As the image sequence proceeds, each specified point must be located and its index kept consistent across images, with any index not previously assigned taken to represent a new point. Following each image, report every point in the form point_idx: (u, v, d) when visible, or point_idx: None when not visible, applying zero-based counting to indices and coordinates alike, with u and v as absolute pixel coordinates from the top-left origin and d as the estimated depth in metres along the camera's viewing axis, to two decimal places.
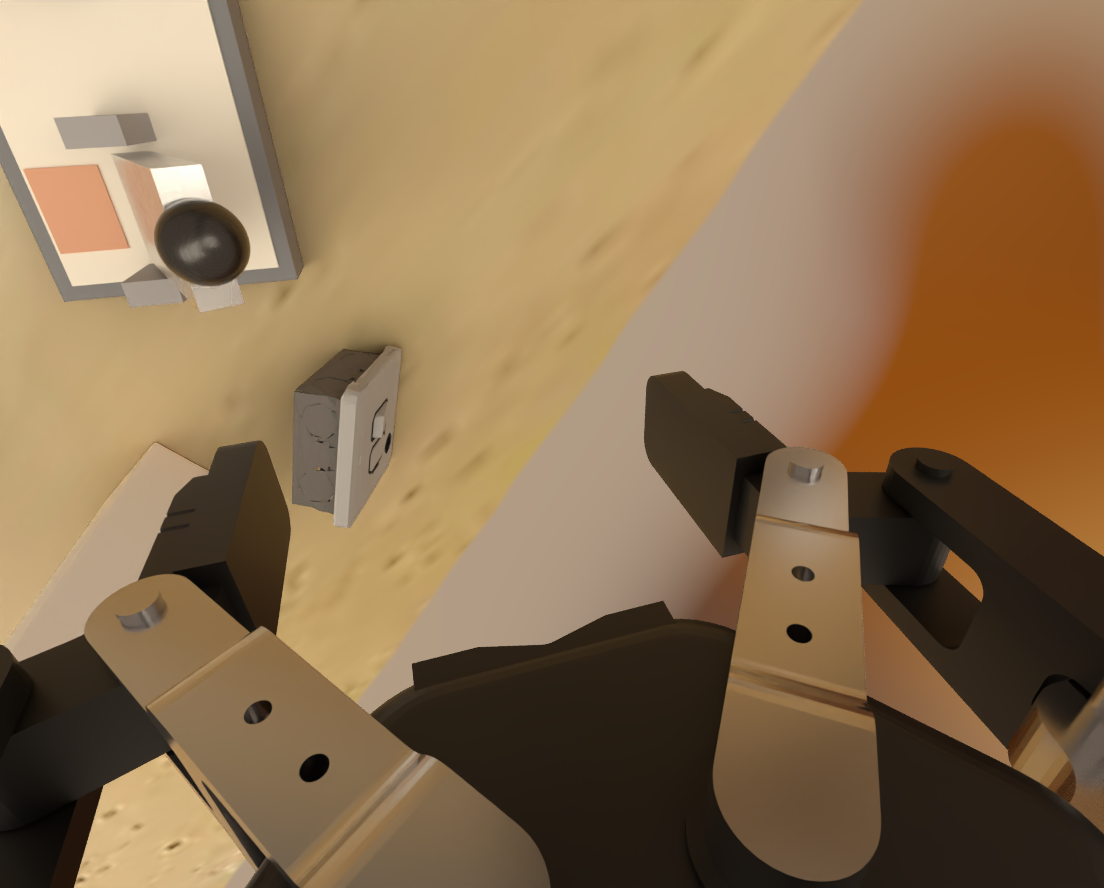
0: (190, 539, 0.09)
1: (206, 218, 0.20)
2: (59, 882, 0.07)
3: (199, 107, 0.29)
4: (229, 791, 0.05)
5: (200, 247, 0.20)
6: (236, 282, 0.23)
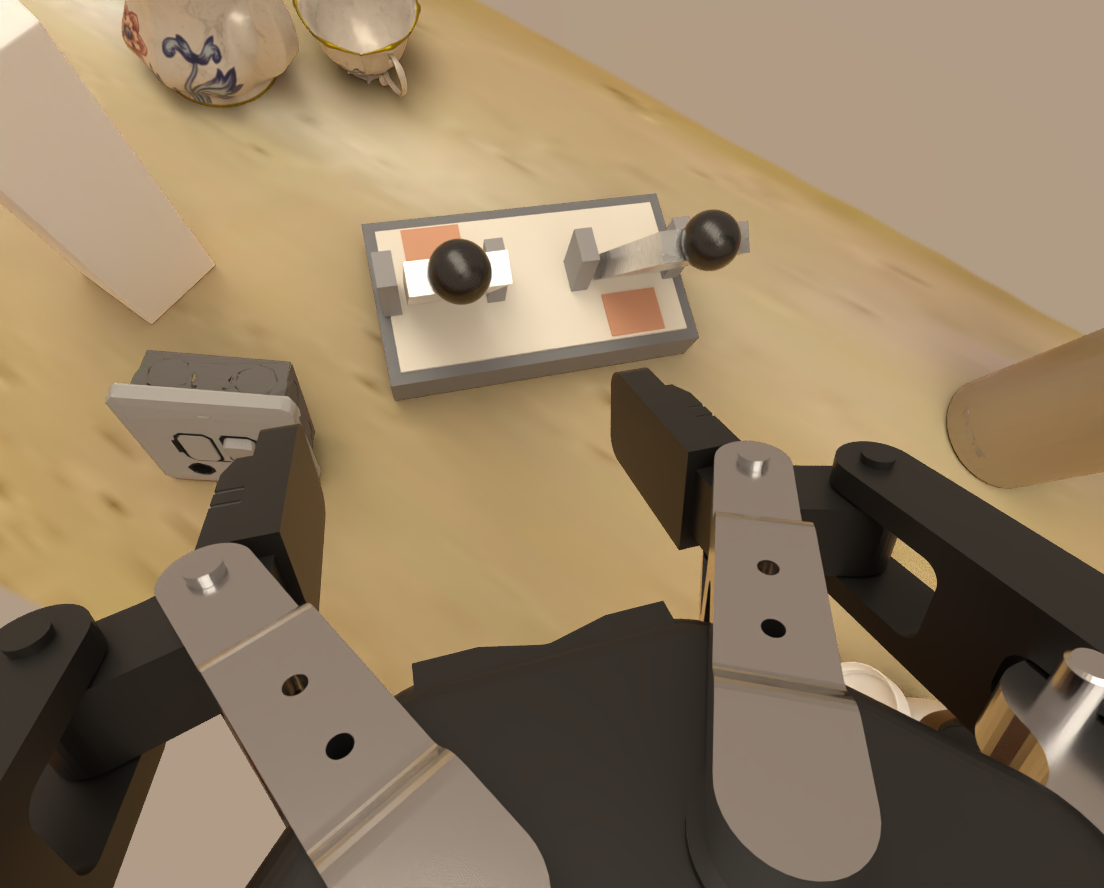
0: (243, 512, 0.09)
1: (484, 270, 0.27)
2: (115, 835, 0.07)
3: (513, 331, 0.41)
4: (260, 758, 0.05)
5: (464, 260, 0.27)
6: (427, 293, 0.28)
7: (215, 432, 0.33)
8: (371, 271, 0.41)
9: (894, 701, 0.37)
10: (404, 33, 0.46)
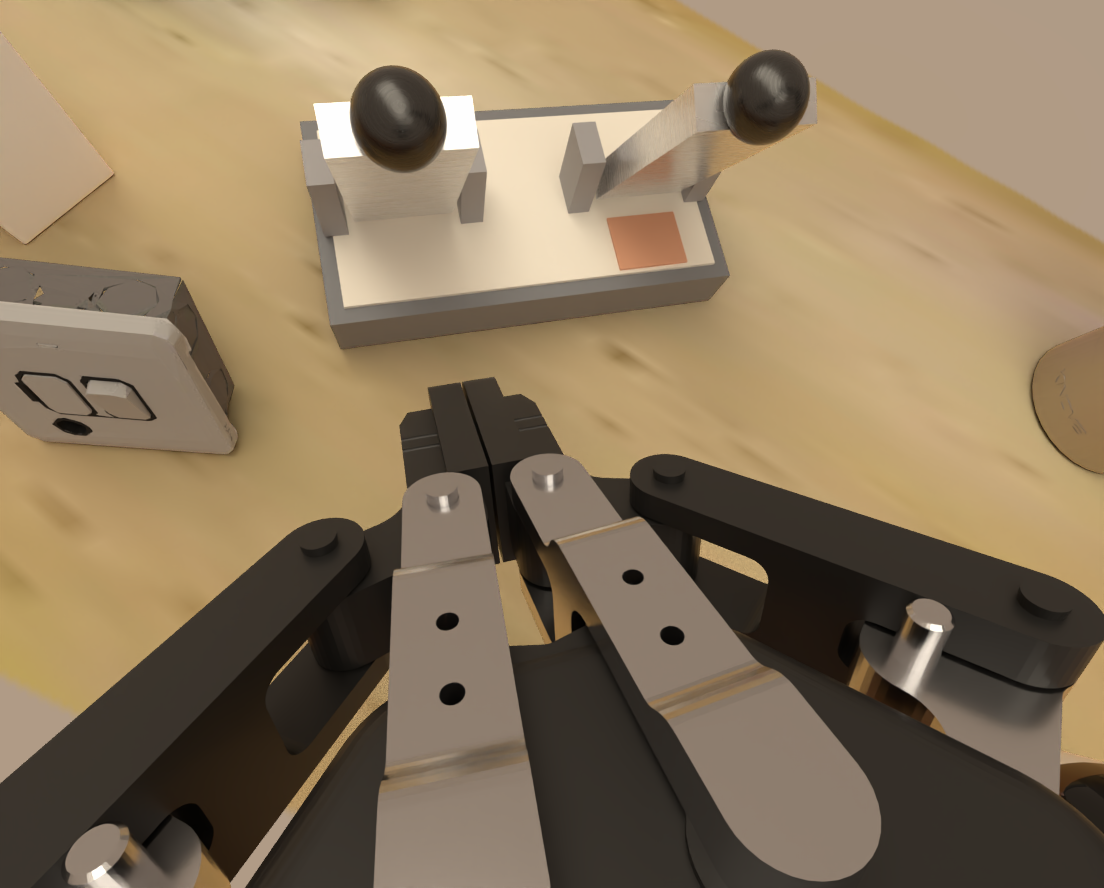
0: (448, 451, 0.10)
1: (432, 112, 0.18)
2: (326, 730, 0.08)
3: (493, 260, 0.32)
4: (395, 669, 0.06)
5: (401, 91, 0.18)
6: (351, 155, 0.19)
7: (71, 371, 0.24)
8: None
9: None
10: None
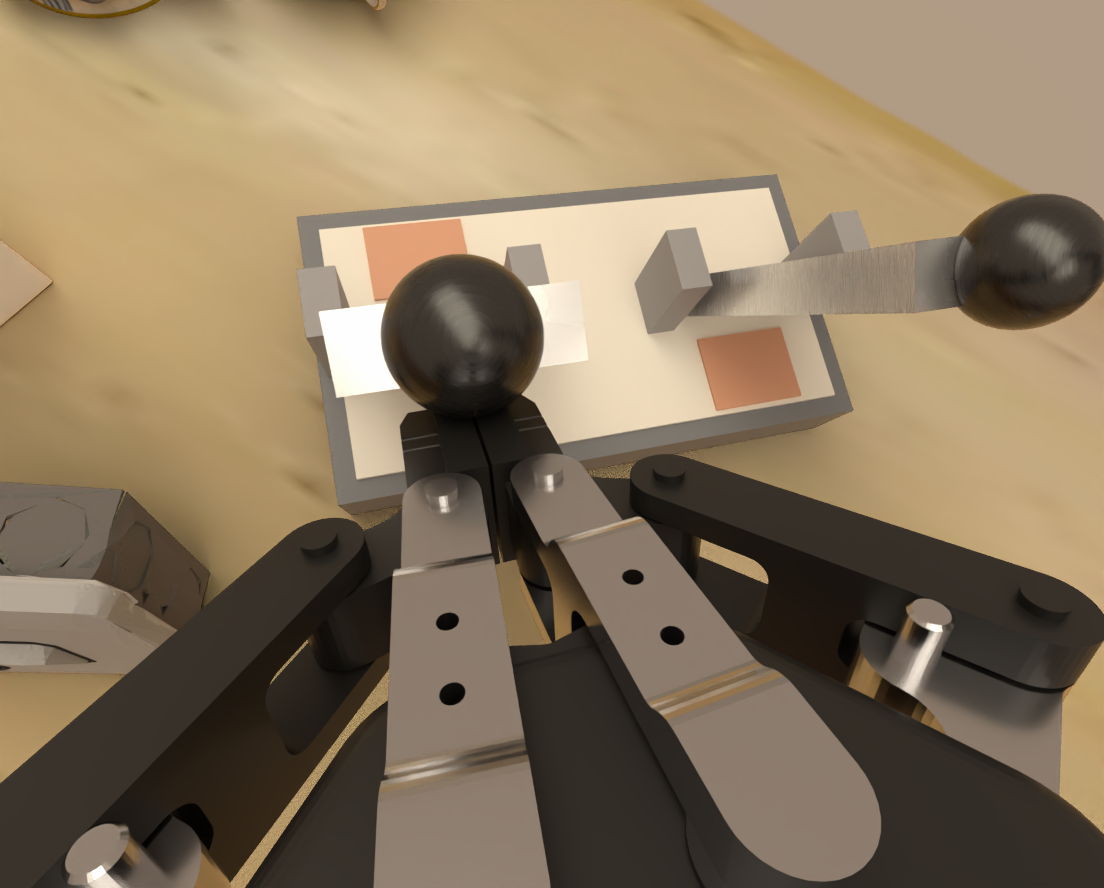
0: (448, 451, 0.10)
1: (527, 341, 0.10)
2: (327, 730, 0.08)
3: (553, 404, 0.24)
4: (395, 668, 0.06)
5: (477, 317, 0.10)
6: (381, 388, 0.12)
7: None
8: None
9: None
10: None
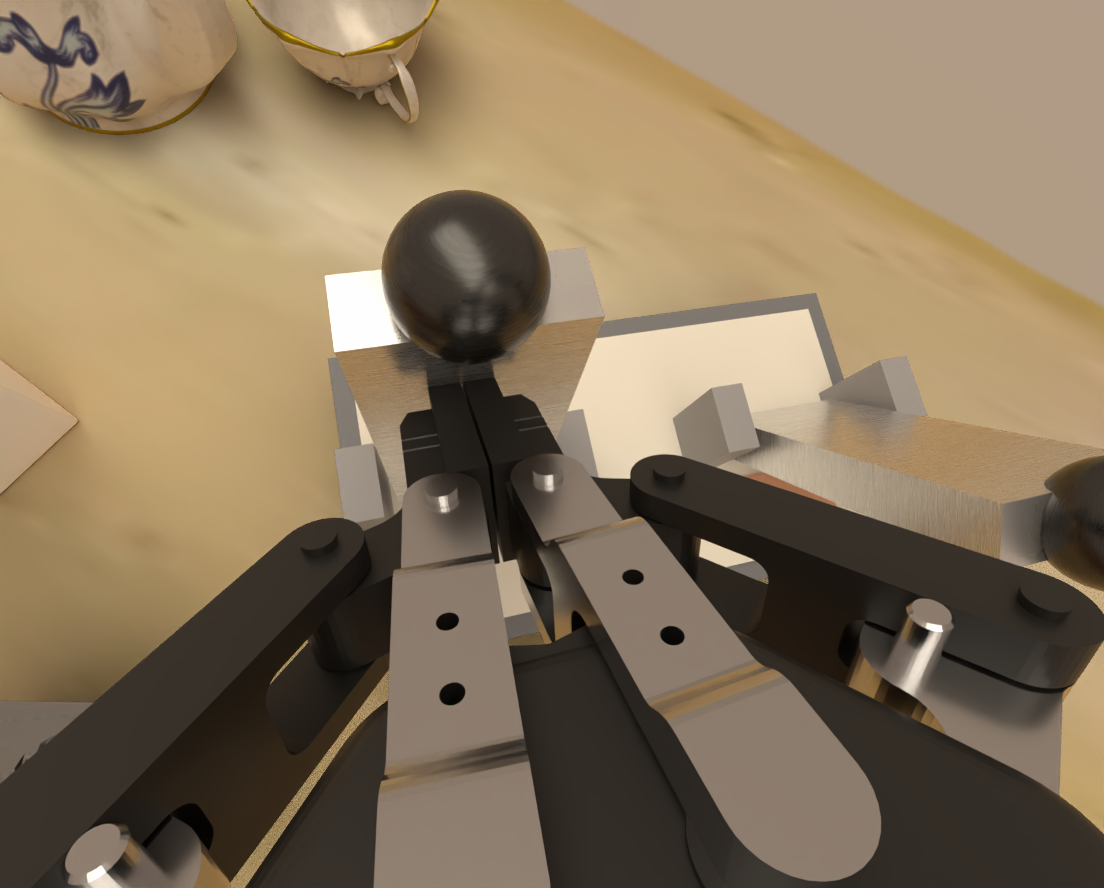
0: (448, 451, 0.10)
1: (527, 241, 0.10)
2: (327, 731, 0.08)
3: None
4: (394, 668, 0.06)
5: (471, 207, 0.10)
6: (383, 343, 0.11)
7: None
8: (343, 446, 0.23)
9: None
10: (417, 21, 0.29)
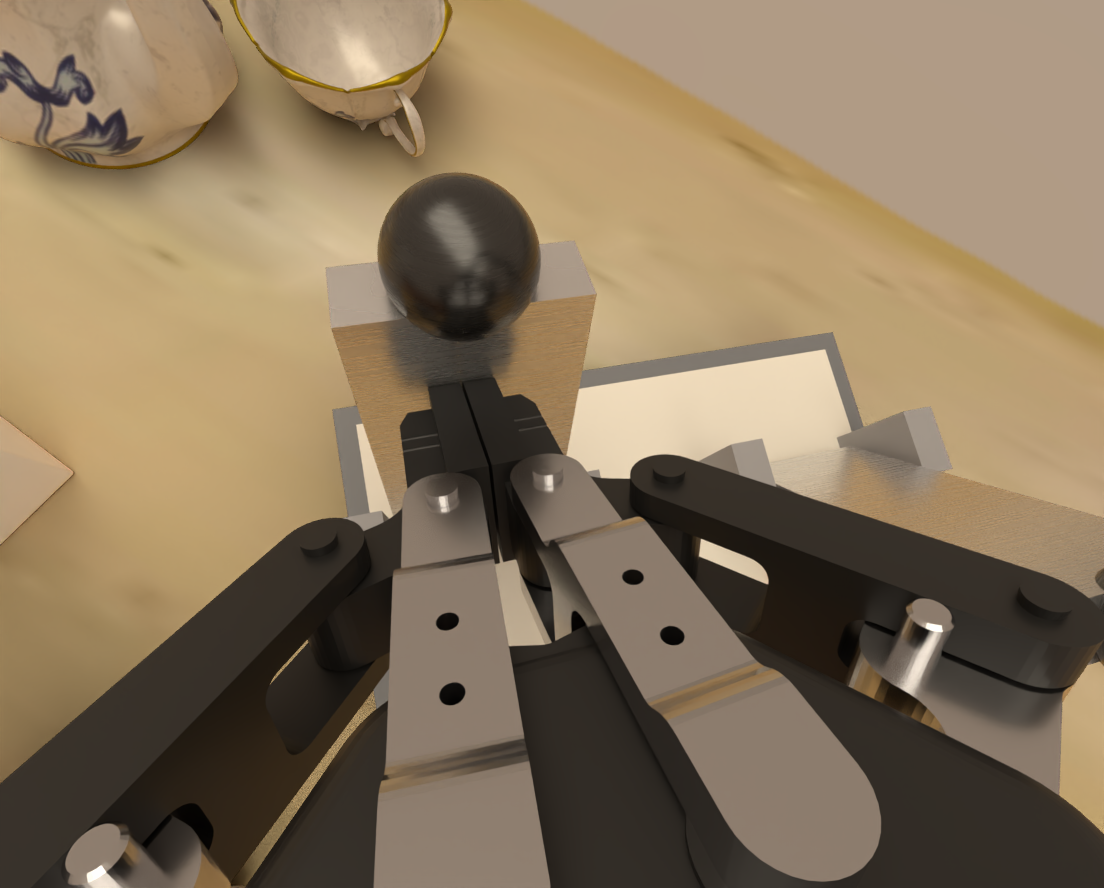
0: (448, 451, 0.10)
1: (515, 208, 0.10)
2: (327, 730, 0.08)
3: None
4: (395, 668, 0.06)
5: (460, 178, 0.10)
6: (379, 320, 0.11)
7: None
8: (348, 502, 0.22)
9: None
10: (423, 51, 0.28)
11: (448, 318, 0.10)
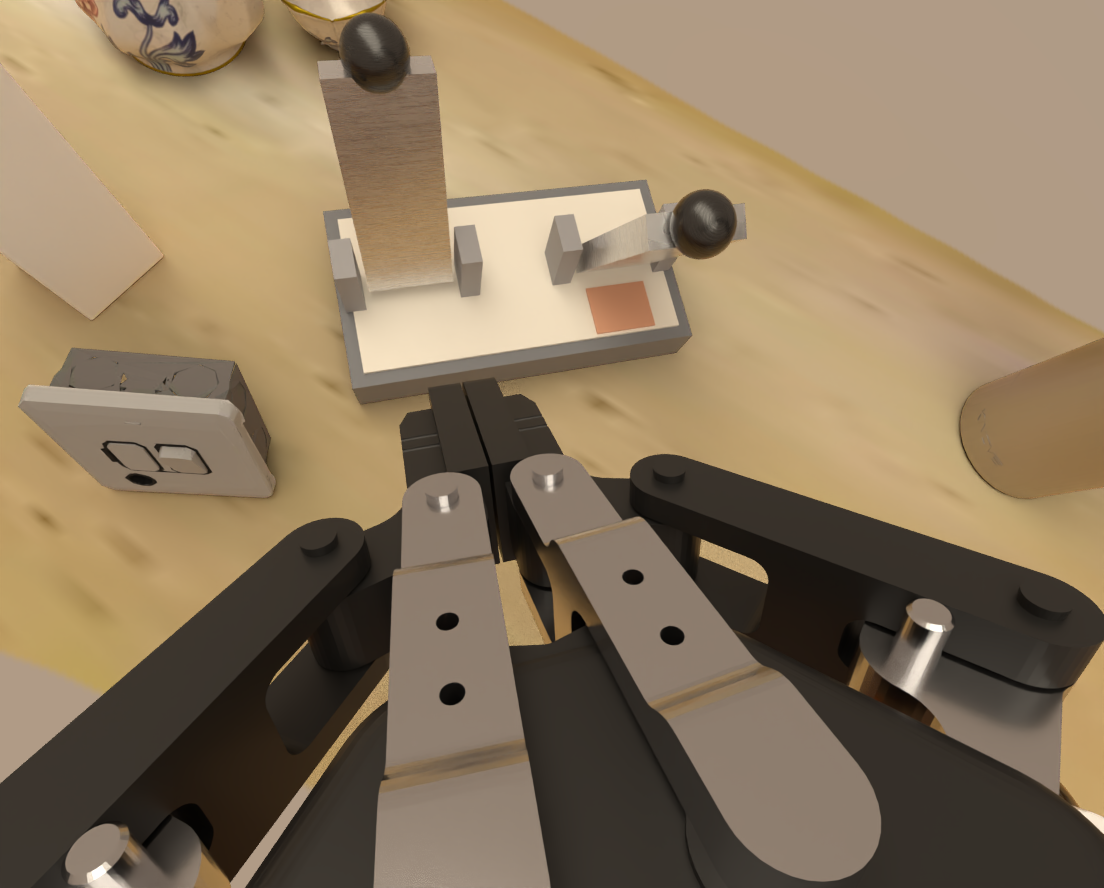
0: (448, 451, 0.10)
1: (394, 26, 0.25)
2: (327, 730, 0.08)
3: (489, 328, 0.38)
4: (395, 668, 0.06)
5: (371, 13, 0.25)
6: (339, 77, 0.26)
7: (148, 440, 0.30)
8: None
9: None
10: (382, 1, 0.43)
11: (367, 71, 0.25)
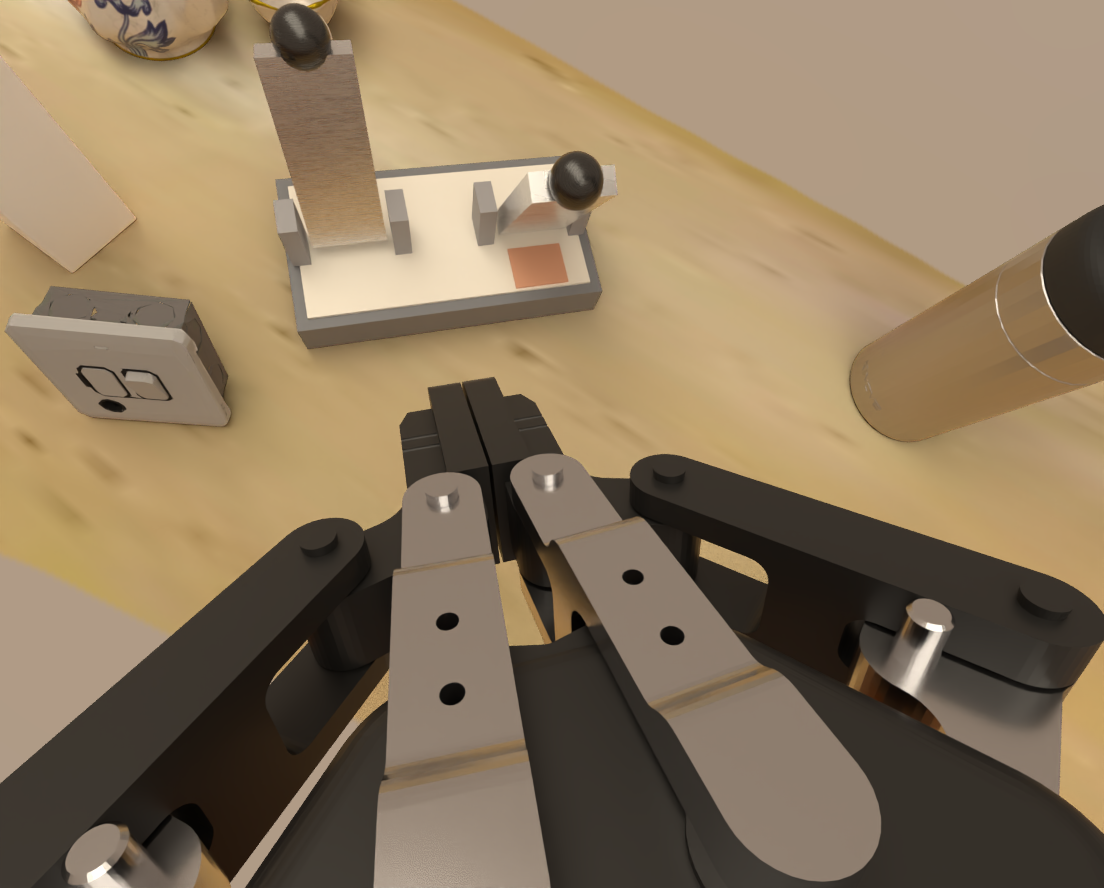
0: (448, 451, 0.10)
1: (314, 14, 0.31)
2: (327, 731, 0.08)
3: (419, 282, 0.43)
4: (395, 668, 0.06)
5: (295, 3, 0.31)
6: (271, 57, 0.31)
7: (116, 365, 0.35)
8: None
9: None
10: None
11: (292, 52, 0.31)
